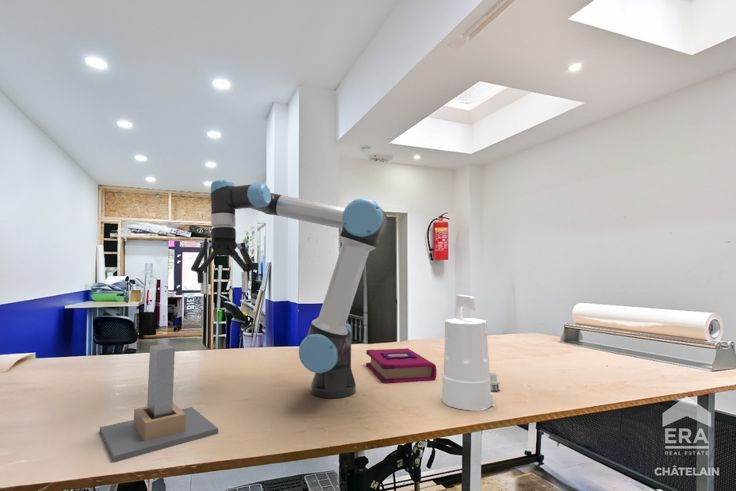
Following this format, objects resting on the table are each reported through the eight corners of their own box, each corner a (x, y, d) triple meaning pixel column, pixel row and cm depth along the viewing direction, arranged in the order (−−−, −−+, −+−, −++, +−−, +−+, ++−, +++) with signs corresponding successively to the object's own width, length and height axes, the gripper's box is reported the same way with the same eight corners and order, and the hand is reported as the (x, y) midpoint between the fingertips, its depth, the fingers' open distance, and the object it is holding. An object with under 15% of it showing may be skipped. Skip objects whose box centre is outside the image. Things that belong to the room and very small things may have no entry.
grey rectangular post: (163, 421, 100) (166, 343, 102) (171, 429, 95) (174, 348, 96) (146, 425, 98) (149, 345, 99) (153, 434, 92) (157, 350, 94)
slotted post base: (191, 411, 111) (192, 392, 111) (218, 433, 96) (218, 412, 97) (99, 432, 96) (100, 410, 97) (114, 462, 82) (115, 436, 82)
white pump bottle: (503, 406, 117) (501, 296, 119) (463, 413, 111) (461, 297, 113) (469, 391, 131) (468, 293, 133) (432, 397, 125) (432, 294, 127)
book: (411, 363, 172) (411, 346, 172) (436, 381, 145) (436, 361, 145) (365, 366, 167) (365, 348, 167) (382, 385, 140) (383, 363, 140)
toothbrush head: (464, 363, 157) (501, 369, 133) (466, 380, 155) (503, 390, 132) (453, 363, 155) (488, 370, 132) (454, 381, 154) (490, 391, 131)
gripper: (253, 231, 138) (255, 290, 136) (179, 227, 121) (180, 295, 119) (263, 228, 133) (265, 290, 131) (187, 223, 116) (188, 294, 114)
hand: (224, 292), depth 125 cm, fingers open, 13 cm apart
